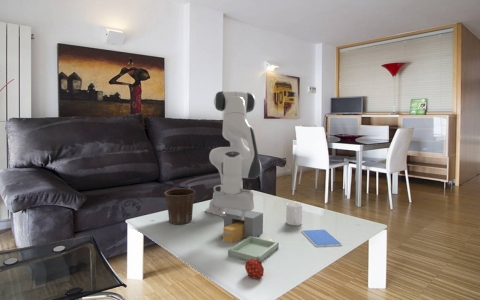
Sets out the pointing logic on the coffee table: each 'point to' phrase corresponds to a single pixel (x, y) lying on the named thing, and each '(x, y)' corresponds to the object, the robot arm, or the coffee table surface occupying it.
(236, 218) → the block
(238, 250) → the tray
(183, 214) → the plant pot
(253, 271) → the red bumpy oval lump
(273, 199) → the coffee table surface
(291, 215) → the mug
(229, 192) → the robot arm
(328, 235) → the tablet computer
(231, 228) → the orange rectangular block
